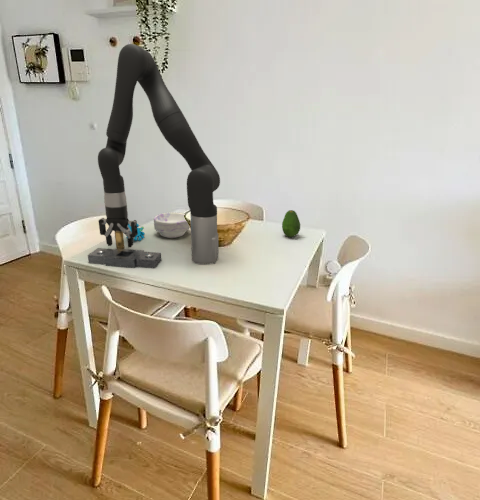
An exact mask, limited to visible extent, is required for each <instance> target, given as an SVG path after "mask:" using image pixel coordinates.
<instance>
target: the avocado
mask: <svg viewBox="0 0 480 500" xmlns="http://www.w3.org/2000/svg"><path fill="white" fill-rule="evenodd" d="M281 225H282V226H281V227H282V228H281V229H282V233H283V234H284V236H286V237H287V238H294V237H296V236H297V235H298V234H299V232H300V230H301V223H300V219H299V216H298V214H297V212H296V211H295V210H293V209H292V210H287V211H286V213H285V214H284V217H283V220H282V223H281Z"/></svg>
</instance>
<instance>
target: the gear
mask: <svg viewBox="0 0 480 500" xmlns="http://www.w3.org/2000/svg"><path fill="white" fill-rule="evenodd" d="M139 226H140V225H139V223H137V232H138V235H137V236H135V237H133V242H137V241H138V242H141V241H142V240H143V239H144V238H145V234H146V233H145V232H144V231H143V230H144V229H145V228H144V226H141V227H139ZM128 227H129V228H130V231H131V232H132V230H131V226H130V224H128ZM125 230H126V229H125ZM127 238H128V237H127V236H126V239H127Z"/></svg>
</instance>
